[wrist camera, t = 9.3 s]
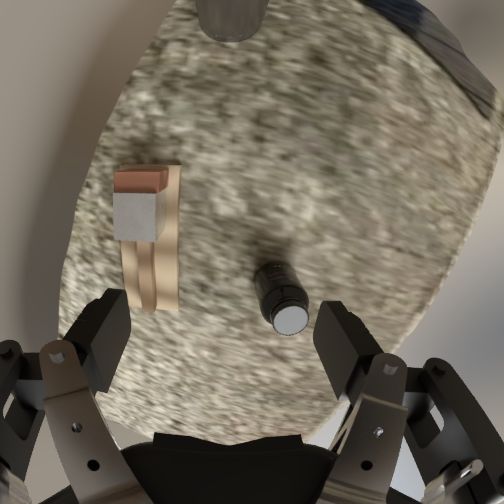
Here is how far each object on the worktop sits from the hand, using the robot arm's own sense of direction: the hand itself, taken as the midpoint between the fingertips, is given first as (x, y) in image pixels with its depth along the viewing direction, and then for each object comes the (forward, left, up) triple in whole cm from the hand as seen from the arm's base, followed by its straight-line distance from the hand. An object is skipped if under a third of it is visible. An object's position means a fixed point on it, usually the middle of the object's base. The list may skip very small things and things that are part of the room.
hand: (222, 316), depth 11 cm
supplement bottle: (+13, +9, -30) cm, 34 cm away
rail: (+8, -11, -30) cm, 33 cm away
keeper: (+2, -11, -28) cm, 30 cm away
